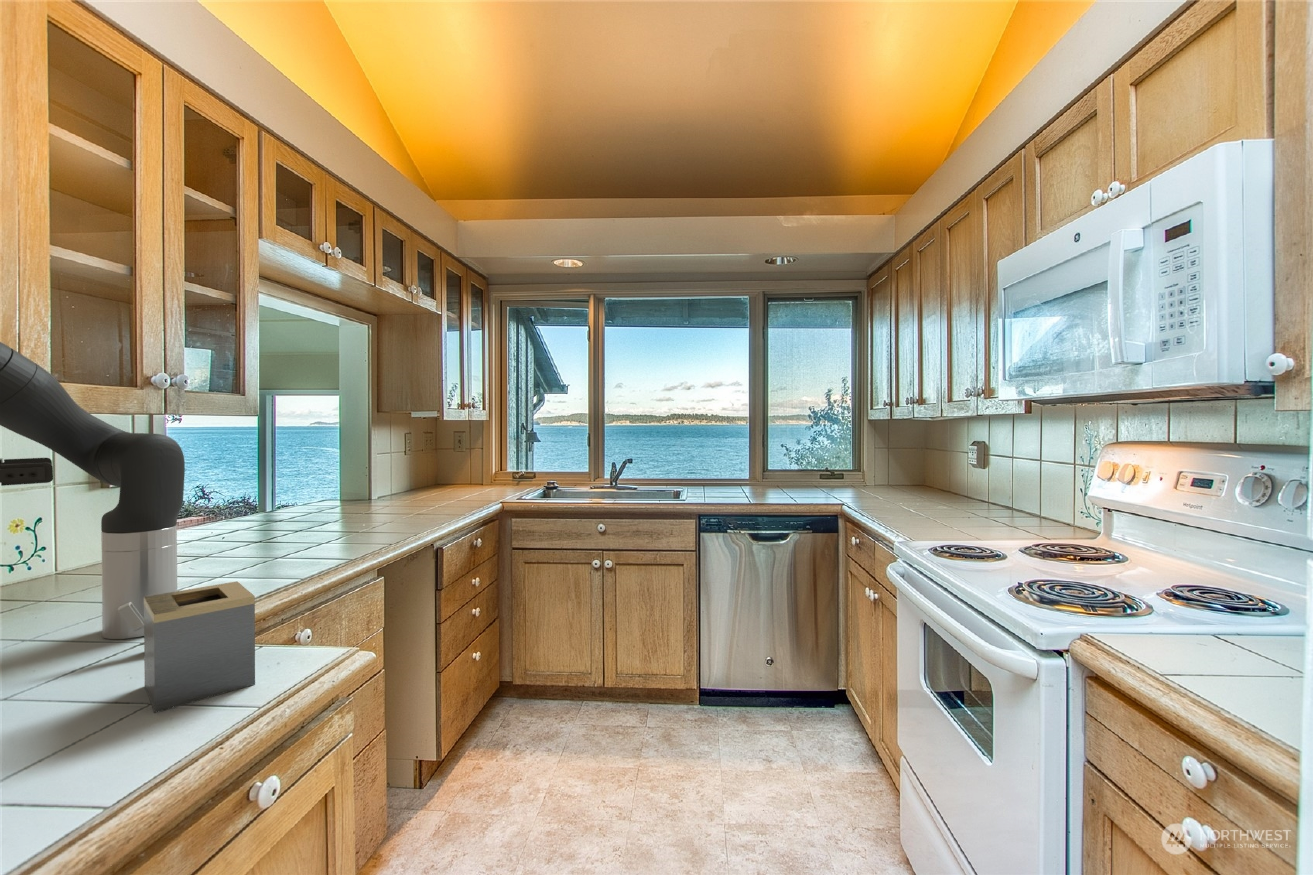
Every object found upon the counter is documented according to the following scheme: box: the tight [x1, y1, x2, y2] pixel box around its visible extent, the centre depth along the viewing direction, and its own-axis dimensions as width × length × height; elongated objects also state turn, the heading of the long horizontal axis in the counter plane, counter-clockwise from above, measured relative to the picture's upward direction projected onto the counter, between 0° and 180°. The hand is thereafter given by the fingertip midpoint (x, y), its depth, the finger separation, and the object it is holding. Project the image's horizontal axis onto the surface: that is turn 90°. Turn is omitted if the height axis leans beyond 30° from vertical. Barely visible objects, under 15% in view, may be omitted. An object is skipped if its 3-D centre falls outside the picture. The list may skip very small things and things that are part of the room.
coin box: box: [143, 581, 256, 714], centre depth 73 cm, size 10×10×12 cm
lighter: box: [118, 602, 144, 632], centre depth 83 cm, size 7×2×8 cm, turn 127°
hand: (52, 469), depth 63 cm, fingers open, 8 cm apart
